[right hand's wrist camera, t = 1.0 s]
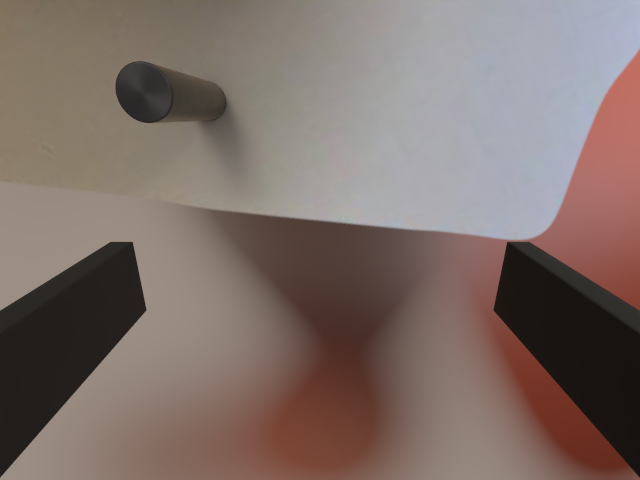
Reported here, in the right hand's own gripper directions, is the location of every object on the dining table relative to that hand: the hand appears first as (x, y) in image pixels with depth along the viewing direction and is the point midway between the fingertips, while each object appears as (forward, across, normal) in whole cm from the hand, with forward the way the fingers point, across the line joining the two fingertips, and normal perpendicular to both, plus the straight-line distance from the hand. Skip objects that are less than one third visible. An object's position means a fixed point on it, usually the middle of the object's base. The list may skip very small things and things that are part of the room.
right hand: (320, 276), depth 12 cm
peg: (+22, -10, +6) cm, 25 cm away
